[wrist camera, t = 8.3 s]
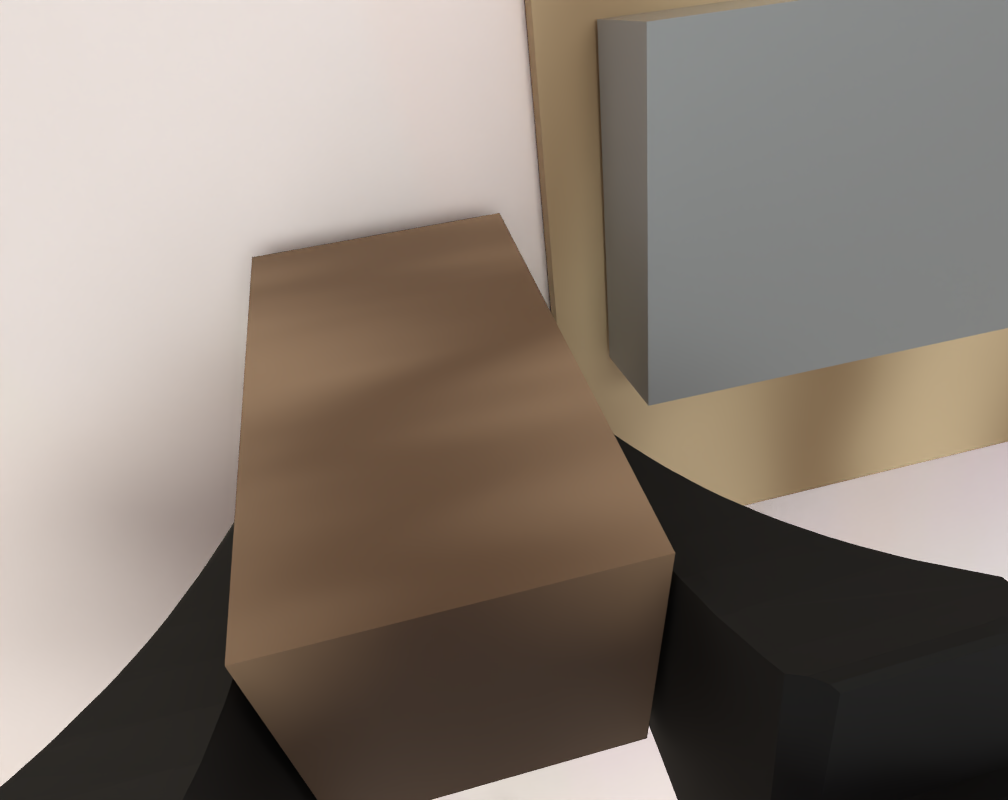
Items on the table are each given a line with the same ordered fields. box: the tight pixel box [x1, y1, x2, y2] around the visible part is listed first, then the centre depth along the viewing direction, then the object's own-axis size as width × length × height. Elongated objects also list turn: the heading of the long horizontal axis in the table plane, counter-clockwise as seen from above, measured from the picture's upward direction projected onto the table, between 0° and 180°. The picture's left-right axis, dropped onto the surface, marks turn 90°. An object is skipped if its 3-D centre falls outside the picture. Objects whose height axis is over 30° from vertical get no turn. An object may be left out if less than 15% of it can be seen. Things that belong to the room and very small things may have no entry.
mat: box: [525, 0, 1008, 506], centre depth 14 cm, size 14×14×1 cm
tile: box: [597, 0, 1008, 406], centre depth 12 cm, size 8×2×6 cm
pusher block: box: [225, 213, 675, 800], centre depth 10 cm, size 4×4×7 cm
